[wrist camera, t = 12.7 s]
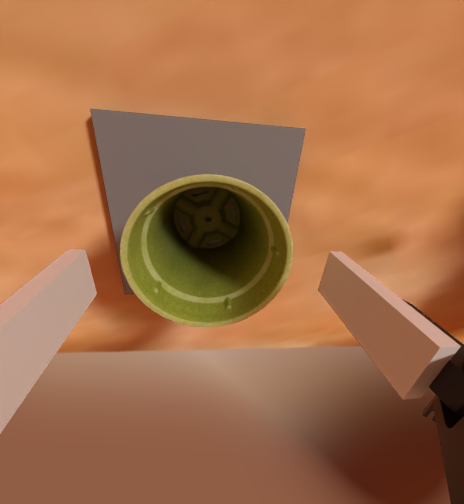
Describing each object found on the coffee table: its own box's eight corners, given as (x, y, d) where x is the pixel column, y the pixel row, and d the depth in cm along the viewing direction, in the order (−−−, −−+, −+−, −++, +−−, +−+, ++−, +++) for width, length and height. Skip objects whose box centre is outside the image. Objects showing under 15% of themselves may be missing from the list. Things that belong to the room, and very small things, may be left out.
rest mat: (300, 129, 18) (305, 128, 17) (271, 284, 26) (274, 289, 25) (95, 110, 16) (90, 108, 15) (127, 288, 23) (124, 294, 22)
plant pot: (176, 274, 22) (164, 344, 14) (133, 180, 18) (80, 208, 10) (265, 247, 22) (301, 303, 14) (244, 147, 17) (278, 148, 10)
